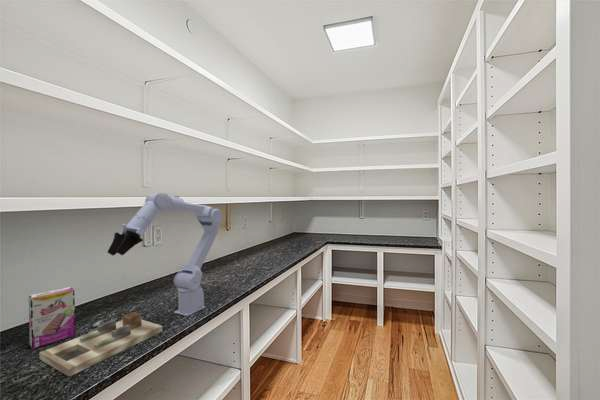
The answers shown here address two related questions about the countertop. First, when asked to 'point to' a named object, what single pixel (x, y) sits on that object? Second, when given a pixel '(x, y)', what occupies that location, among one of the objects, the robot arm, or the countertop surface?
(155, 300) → the countertop surface
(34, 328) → the candy bar box
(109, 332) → the board
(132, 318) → the walnut block
